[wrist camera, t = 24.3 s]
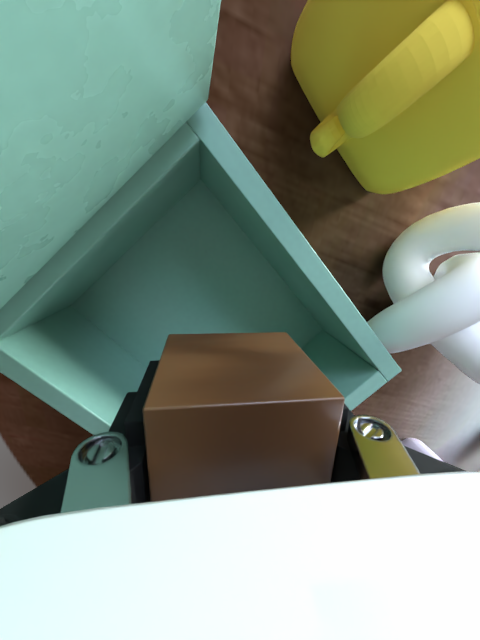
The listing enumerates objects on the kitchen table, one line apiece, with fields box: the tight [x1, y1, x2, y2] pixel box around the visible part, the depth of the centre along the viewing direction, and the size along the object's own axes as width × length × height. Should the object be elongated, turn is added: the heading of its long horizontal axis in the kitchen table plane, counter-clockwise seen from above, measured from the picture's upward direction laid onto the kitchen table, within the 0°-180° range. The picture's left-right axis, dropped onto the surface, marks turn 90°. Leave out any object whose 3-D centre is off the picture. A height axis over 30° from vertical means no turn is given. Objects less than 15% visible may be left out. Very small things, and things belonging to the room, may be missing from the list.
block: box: [142, 332, 345, 502], centre depth 9 cm, size 5×5×5 cm
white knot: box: [367, 203, 480, 384], centre depth 18 cm, size 11×12×9 cm
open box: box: [0, 102, 401, 435], centre depth 17 cm, size 16×14×8 cm
